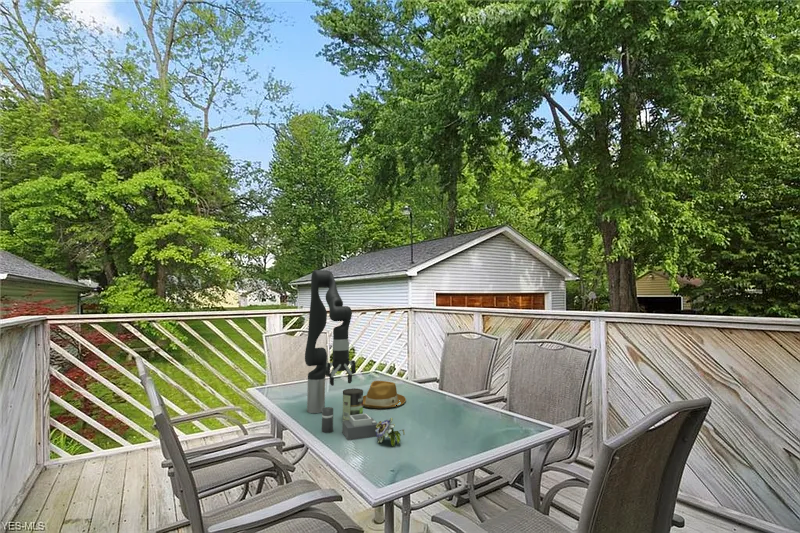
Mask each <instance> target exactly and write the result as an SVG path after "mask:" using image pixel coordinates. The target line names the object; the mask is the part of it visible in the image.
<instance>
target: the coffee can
mask: <svg viewBox="0 0 800 533" xmlns="http://www.w3.org/2000/svg"><path fill="white" fill-rule="evenodd" d="M363 396H364V389H361V388H354V387H353V388H345V389H344V390H342V421H347V420H349V415H357V414H364V413H363V412H364V406H363Z"/></svg>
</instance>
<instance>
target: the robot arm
mask: <svg viewBox="0 0 800 533" xmlns="http://www.w3.org/2000/svg"><path fill="white" fill-rule="evenodd" d="M310 279H311V280H310V305H309V315H308V316H309V317H308V332H307V339H306V346H305V352H304V362H305V365H306V366H308V367H315V368H313V370H310V371H308V374H307V393H306V394H307V395H306V396H307V401H306V403H307V404H306V412H307V413H309V414H320V413H321V414H322V409H323V408H325V407H326V405H325V404H326V403H325V402H326V377H328V378H329V384H330V386H331V387H332V386H335V377H334V376H335V375H336V374H337V372H346V373H347V384H352V382H353V375H355V374H356V373H357V369H356V360H354V359H353V360H352V359H351V360H350V343H349V328H350V325H351V324H350V323H351V319H352V316H353V311H352V309H351V307H350V306H348V305H344V302H343V299H342V297H341V296H340V293H339V292H338V288H337V284H336V280H335V276H334V274H333V272H332V271H330V270H325V269H324V270H322V269H321V270H320V269H315V270H313V271H312V273H311V278H310ZM319 288H328V290H327V291H326V293H325V301H326V303H327V305H328V308H329V318H330V320H331V321H333V322H342V323H341V324H340V325H338V326H334V327H333V329H332V333H333V334H332V339H333V340H332V361H331V362H328V354H327V350H326V348H325V347H316V346H317V341H318V339H319V337H320V335H321V334H322V333H323V331H324V330H325V327H326V325H327V319H328V312H327V309H326V306H325V304H324V303H323V301H322V300H321V297H320V293H319V292H320V291H319ZM349 365H350V368H349ZM332 367H333V368H332ZM331 368H332V369H331Z"/></svg>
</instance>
